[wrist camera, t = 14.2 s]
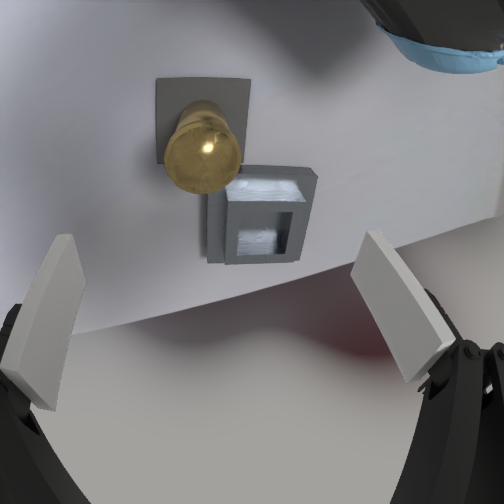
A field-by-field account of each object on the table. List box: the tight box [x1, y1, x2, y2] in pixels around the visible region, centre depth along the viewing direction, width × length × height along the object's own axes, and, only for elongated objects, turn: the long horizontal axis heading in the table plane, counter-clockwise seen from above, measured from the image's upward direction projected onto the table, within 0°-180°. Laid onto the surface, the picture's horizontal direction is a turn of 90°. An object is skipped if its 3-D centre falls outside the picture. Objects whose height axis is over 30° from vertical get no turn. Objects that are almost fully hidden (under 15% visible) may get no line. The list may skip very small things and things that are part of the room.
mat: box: [156, 77, 251, 164], centre depth 33 cm, size 11×11×1 cm
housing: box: [207, 165, 318, 265], centre depth 41 cm, size 14×14×6 cm
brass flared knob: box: [164, 100, 241, 194], centre depth 28 cm, size 6×6×14 cm
